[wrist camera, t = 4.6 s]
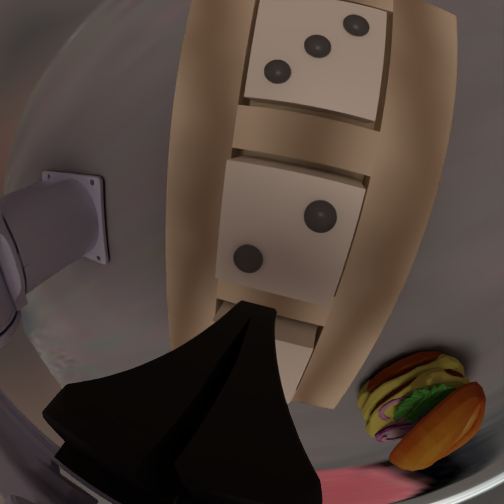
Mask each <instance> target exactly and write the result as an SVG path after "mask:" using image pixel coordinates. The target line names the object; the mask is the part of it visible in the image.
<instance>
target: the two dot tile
mask: <svg viewBox="0 0 504 504" xmlns="http://www.w3.org/2000/svg"><path fill="white" fill-rule="evenodd" d="M365 190H366V189H365V188H364V186H363V185H362V183H361V182H360V180H358V179H354V178H351V177H347V176H343V175H339V174H335V173H331V172H326V171H322V170H318V169H313V168H309V167H304V166H300V165H295V164H290V163H285V162H280V161H274V160H269V159H263V158H257V157H251V156H245V155H242V156H239V157H235V158H232V159H228V160H227V162H226V170H225V179H224V188H223V197H222V206H221V216H220V226H219V237H218V248H217V259H216V271H215V278H218V279H221V280H225V281H228V282H232V283H236V284H239V285H243V286H247V287H251V288H254V289H258V290H262V291H266V292H269V293H273V294H277V295H281V296H285V297H289V298H293V299H297V300H301V301H305V302H309V303H313V304H317V305H321V306H325V307H329V308H330V305H331V302H332V299H333V297H334V294H335V291H336V288H337V285H338V282H339V279H340V276H341V273H342V270H343V267H344V264H345V261H346V258H347V255H348V251H349V248H350V245H351V242H352V238H353V235H354V231H355V228H356V224H357V221H358V217H359V213H360V210H361V206H362V202H363V198H364V194H365Z"/></svg>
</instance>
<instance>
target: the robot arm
mask: <svg viewBox="0 0 504 504" xmlns="http://www.w3.org/2000/svg"><path fill="white" fill-rule="evenodd" d="M93 181H94V182H93ZM82 256H83V257H86V258H88V259H91V260H94V261H96V262H99V263H101V264H106V263H108V261H109V259H108V251H107V241H106V231H105V218H104V200H103V180H102V178H101V177H100V176H93V175H85V174H76V173H67V172H57V171H43V173H42V182H39V183H36V184H33V185H31V186H28V187H25V188H23V189H20V190H17V191H15V192H12V193H10V194H7V195H5V196H2V197H1V198H0V347H2V346H3V345H5V344H6V343H7V342H8V341H9V340H10V339H11V338H12V336H13V335H14V333H15V332H16V330H17V328H18V326H19V323H20V320H21V310H20V309H21V308H23V307H24V306H25V305H27V304H28V301H27V299H26V294H27V293H29V292H30V291H31V290H33V289H34V288H36V287H37V286H38V285H40V284H41V283H43V282H44V281H45V280H47V279H48V278H50V277H51V276H53V275H54V274H56V273H57V272H59V271H60V270H62V269H63V268H65V267H66V266H68V265H69V264H71V263H72V262H74V261H75V260H77V259H78V258H80V257H82ZM276 315H277V311H276V309H275V308H271V307H267V306H263V305H259V304H255V303H251V302H247V301H243V300H242V301H240V302H238V303H237V304H236V305H235V306H234V307H233V308H232V309H230V310H229V311H228V312H227V313H226V314H225V315H223V316H222V317H221V318H220V319H219V320H217V321H216V322H215V323H213V324H212V325H211V326H209V327H208V328H207V329H206V330H204V331H203V332H201V333H200V334H198V335H197V336H195V337H194V338H192V339H191V340H189V341H188V342H186V343H185V344H183V345H181V346H180V347H178V348H176V349H174V350H172V351H171V352H169V353H167V354H165V355H163V356H161V357H159V358H157V359H154V360H152V361H150V362H148V363H145V364H143V365H141V366H138V367H135V368H133V369H130V370H127V371H124V372H120V373H117V374H114V375H111V376H107V377H103V378H99V379H94V380H89V381H84V382H78V383H71V384H67V385H66V386H65V387H64V388H63V389H62V390H61V391H60V392H59V393H58V394H57V395H56V397H55V398H54V399H53V400H52V401H51V402H50V403H49V405H48V406H47V407H46V408H45V409H44V411H43V412H42V413H43V417H44V419H45V420H46V421H47V423H48V424H49V425H50V426H51V427H52V428H53V429H54V430H55V431H56V433H58V435H59V436H60V437H61V438H62V439H63V440H64V441H65V442H64V444H63V445H62V446H61V448H60V447H59V446H58V445H56V444H55V443H54V442H53V441H51V440H50V439H49V438H48V437H47V436H46V435H45V434H44V433H42V432H41V431H40V430H39V429H38V428H37V427H36V426H35V425H34V424H33V423H32V422H31V421H30V420H29V419H28V418H27V417H26V416H25V415H24V414H23V413H22V412H21V411H20V410H19V409H18V408H17V407H16V406H15V405H14V404H13V403H12V401H11V400H10V399H9V398H8V397H7V396H6V395H5V394H4V392H3V391H2V390H1V389H0V494H1V495H2V497H3V498H4V500H5V502H4V504H97V503H98V500H97V499H95V498H94V497H93V496H91V495H90V494H88V493H87V492H86V491H85V490H83V489H82V488H80V487H79V486H77V485H76V484H74V483H73V482H71V481H70V480H69V479H67V478H66V477H64V476H63V475H62V474H61V473H60V468H59V466H60V467H61V468H62V469H63V470H64V471H66V472H67V473H69V474H70V475H71V476H72V477H74V478H75V479H76V480H78V481H79V482H81V483H82V484H83V485H85V486H86V487H87V488H89V489H90V490H92V491H93V492H95V493H97V494H98V495H100V496H101V497H103V498H104V499H106V500H107V501H109V502H111V503H112V504H322V490H321V483H320V479H319V477H318V475H317V474H316V472H315V470H314V468H313V466H312V464H311V462H310V460H309V458H308V456H307V454H306V452H305V450H304V448H303V446H302V443H301V441H300V439H299V436H298V434H297V431H296V428H295V426H294V423H293V420H292V418H291V415H290V412H289V409H288V406H287V402H286V399H285V395H284V392H283V388H282V383H281V379H280V374H279V368H278V362H277V355H276V345H275V319H276Z"/></svg>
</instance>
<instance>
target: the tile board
mask: <svg viewBox="0 0 504 504" xmlns="http://www.w3.org/2000/svg"><path fill="white" fill-rule="evenodd" d="M339 1H344V2H349V3H354V4H359V5H363V6H367V7H371V8H375V9H378V10H382V11H385V12H387V20H386V37H385V50H384V60H383V70H382V78H381V86H380V93H379V100H378V107H377V113H376V119H375V121H374V122H371V123H363V122H360V121H356V120H352V119H348V118H344V117H340V116H335V115H331V114H326V113H322V112H317V111H312V110H306V109H301V108H295V107H289V106H282V105H275V104H268V103H259V102H255V101H253V100H251V99H248V98H246V97H244V93H245V86H246V79H247V73H248V67H249V60H250V54H251V48H252V42H253V36H254V30H255V25H256V19H257V13H258V8H259V2H260V0H192V3H191V7H190V12H189V16H188V20H187V25H186V30H185V35H184V40H183V45H182V51H181V56H180V62H179V68H178V75H177V82H176V89H175V96H174V104H173V113H172V122H171V132H170V144H169V157H168V172H167V193H166V286H167V307H168V323H169V336H170V347H171V351H172V350H174V349H176V348H178V347H180V346H181V345H183V344H185V343H186V342H188V341H189V340H191V339H192V338H194V337H195V336H197V335H198V334H200V333H201V332H203V331H204V330H206V329H207V328H208V327H209V326H211V325H212V320H213V318H214V317H215V315H216V314H217V312H218V310H219V309H220V307H221V306H222V304H223V302H224V301H229V302H232V303H236V304H237V303H238V302H240V301H242V300H243V301H247V302H251V303H255V304H259V305H263V306H267V307H271V308H275V309H276V311H277V315H280V316H284V317H287V318H291V319H295V320H299V321H303V322H308V323H312V324H316V333H315V341H314V349H313V351H312V354H311V356H310V358H309V361H308V363H307V365H306V368H305V370H304V372H303V374H302V377H301V379H300V381H299V383H298V386H297V388H296V390H295V392H294V394H293V396H292V398H291V401H295V402H299V403H304V404H309V405H314V406H319V407H324V408H330V409H334V408H335V407H336V405H337V404H338V402H339V401H340V399H341V398H342V396H343V395H344V393H345V392H346V390H347V389H348V387H349V386H350V384H351V383H352V381H353V380H354V378H355V377H356V375H357V373H358V372H359V370H360V368H361V367H362V365H363V363H364V362H365V360H366V358H367V357H368V355H369V353H370V352H371V350H372V348H373V346H374V344H375V343H376V341H377V339H378V337H379V335H380V333H381V332H382V330H383V328H384V326H385V324H386V322H387V320H388V318H389V316H390V314H391V312H392V310H393V308H394V306H395V304H396V302H397V299H398V297H399V295H400V293H401V291H402V288H403V286H404V284H405V282H406V279H407V277H408V275H409V272H410V270H411V267H412V265H413V262H414V260H415V257H416V255H417V252H418V249H419V247H420V244H421V241H422V238H423V236H424V233H425V230H426V227H427V224H428V221H429V218H430V214H431V211H432V208H433V204H434V201H435V198H436V194H437V190H438V187H439V183H440V179H441V175H442V171H443V166H444V162H445V157H446V152H447V147H448V142H449V136H450V130H451V124H452V117H453V110H454V101H455V91H456V77H457V22H456V16H455V15H453V14H451V13H449V12H447V11H444V10H442V9H440V8H438V7H436V6H433V5H431V4H428V3H426V2H424V1H421V0H339ZM242 155H245V156H251V157H257V158H263V159H269V160H274V161H280V162H285V163H290V164H295V165H300V166H304V167H309V168H313V169H318V170H322V171H326V172H331V173H335V174H339V175H343V176H347V177H351V178H354V179H358V180H360V182H361V183H362V185H363V186H364V188H365V189H366V190H365V194H364V198H363V202H362V206H361V210H360V213H359V217H358V221H357V224H356V228H355V231H354V235H353V238H352V242H351V245H350V248H349V251H348V255H347V258H346V261H345V264H344V267H343V270H342V273H341V276H340V279H339V282H338V285H337V288H336V291H335V294H334V297H333V299H332V302H331V305H330V308H329V307H325V306H321V305H317V304H313V303H309V302H305V301H301V300H297V299H293V298H289V297H285V296H281V295H277V294H273V293H269V292H266V291H262V290H258V289H254V288H251V287H247V286H243V285H239V284H236V283H232V282H228V281H225V280H221V279H218V278H215V271H216V259H217V248H218V237H219V226H220V216H221V206H222V197H223V188H224V179H225V170H226V162H227V160H228V159H232V158H235V157H239V156H242Z"/></svg>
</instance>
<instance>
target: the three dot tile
mask: <svg viewBox="0 0 504 504" xmlns="http://www.w3.org/2000/svg"><path fill="white" fill-rule="evenodd" d="M386 20H387V12H385V11H382V10H378V9H375V8H371V7H367V6H363V5H359V4H354V3H349V2H344V1H339V0H260V2H259V8H258V13H257V19H256V25H255V30H254V36H253V42H252V48H251V54H250V60H249V67H248V73H247V79H246V86H245V93H244V97H246V98H248V99H251V100H253V101H255V102H259V103H268V104H275V105H282V106H289V107H295V108H301V109H306V110H312V111H317V112H322V113H326V114H331V115H335V116H340V117H344V118H348V119H352V120H356V121H360V122H363V123H371V122H374V121H375V119H376V113H377V107H378V100H379V93H380V86H381V78H382V70H383V60H384V50H385V37H386Z"/></svg>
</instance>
